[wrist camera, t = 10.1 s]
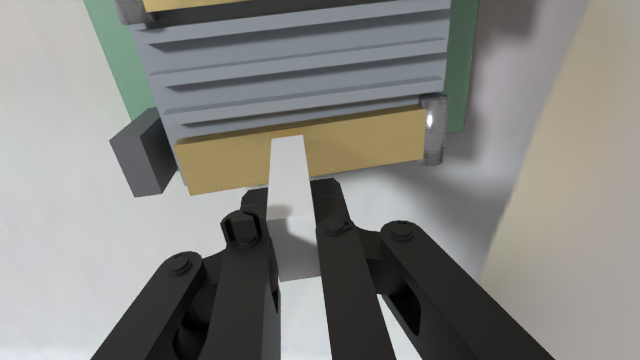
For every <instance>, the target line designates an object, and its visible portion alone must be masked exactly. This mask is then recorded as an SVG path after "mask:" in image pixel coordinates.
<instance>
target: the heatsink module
mask: <svg viewBox="0 0 640 360" xmlns="http://www.w3.org/2000/svg"><path fill="white" fill-rule="evenodd" d="M83 1H84V4H85V6H86V9H87V11H88V14H89V16H90V19H91V21H92V24H93V26H94V29H95V31H96V34H97V36H98V39H99V41H100V44H101V46H102V49H103V51H104V54H105V56H106V59H107V61H108V64H109V66H110V69H111V71H112V74H113V76H114V79H115V81H116V84H117V86H118V89H119V91H120V94H121V96H122V99H123V101H124V104H125V106H126V109H127V111H128V114H129V116H130V119H131V121H132V122H131V123H130V124H129V125H127V126H126V127H125V128H124V129H122V130H121V131H120V132H119V133H118V134H116V135H115V136H114V137H113V138H112V139H110V140H109V142H110V144H111V146H112V148H113V151H114V153H115V155H116V157H117V160H118V162H119V164H120V166H121V168H122V171H123V173H124V175H125V177H126V180H127V182H128V184H129V186H130V189H131V191H132V193H133V195H134V197H142V196H150V195H157V194H162V193H163V192H164V190H165V188H166V187H167V185H168V183H169V182H170V180H171V179H172V177H173V175H174V174H175V172H176V170H177V169H179V171H180V174H181V177H182V180H183V183H184V185H185V186H187V184H186V181H185V179H184V176H183V173H182V170H181V167H180V164H179V161H178V158H177V156H176V153H175V150H174V147H173V145H174V144H175V142H176V141H177V139H179V138H186V137H193V136H200V135H206V134H213V133H220V132H227V131H234V130H241V129H248V128H254V127H261V126H268V125H275V124H282V123H289V122H296V121H302V120H309V119H316V118H323V117H330V116H337V115H344V114H351V113H357V112H364V111H371V110H378V109H385V108H392V107H399V106H405V105H412V104H418V98H419V96H421V95H423V94H429V93H441V94H446V95H448V96H449V107H448V117H447V128H446V134H448V133H456V132H463V127H464V119H465V111H466V102H467V94H468V86H469V77H470V69H471V61H472V53H473V44H474V36H475V28H476V20H477V11H478V3H479V0H248V1H240V2H231V3H222V4H214V5H205V6H196V7H188V8H179V9H170V10H162V11H157V15H158V18H159V21H156V22H149V23H141V24H133V25H123V26H122V25H121V23H120V20H119V17H118V14H117V11H116V9H115V6H114V3H113V0H83Z"/></svg>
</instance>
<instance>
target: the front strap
mask: <svg viewBox="0 0 640 360" xmlns="http://www.w3.org/2000/svg"><path fill="white" fill-rule="evenodd" d="M240 1H248V0H113V3H114V6H115V9H116V11H117V14H118V17H119V20H120V23H121V25H122V26H123V25H133V24H141V23H149V22H156V21H159V18H158V15H157V11H162V10H170V9H179V8H188V7H196V6H205V5H214V4H222V3H231V2H240Z"/></svg>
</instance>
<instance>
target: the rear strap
mask: <svg viewBox="0 0 640 360" xmlns="http://www.w3.org/2000/svg"><path fill="white" fill-rule="evenodd" d="M448 107H449V96H448V95H446V94H441V93H429V94H423V95H421V96H419V98H418V104H412V105H405V106H399V107H392V108H385V109H378V110H371V111H364V112H357V113H351V114H344V115H337V116H330V117H323V118H316V119H309V120H302V121H296V122H289V123H282V124H275V125H268V126H261V127H254V128H248V129H241V130H234V131H227V132H220V133H213V134H206V135H200V136H193V137H186V138H179V139H177V141H176V142H175V144H174V145H173V147H174V150H175V153H176V156H177V158H178V161H179V164H180V167H181V170H182V173H183V176H184V179H185V181H186V184H187V187H188V190H189V193H190V196H192V195H198V194H205V193H211V192H217V191H223V190H230V189H236V188H242V187H248V186H255V185H261V184H267V183H269V171H270V156H271V142H272V139H274V138H282V137H289V136H297V135H303V140H304V147H305V153H306V160H307V167H308V174H309V177H311V176H317V175H324V174H330V173H336V172H343V171H349V170H355V169H361V168H368V167H374V166H380V165H386V164H393V163H399V162H405V161H412V160H416V161H417V162H418V163H419V164H422V165H427V166H434V165H439V164H441V163H442V162H443V160H444V149H445V139H446V128H447V117H448Z"/></svg>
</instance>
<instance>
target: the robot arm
mask: <svg viewBox="0 0 640 360" xmlns="http://www.w3.org/2000/svg"><path fill="white" fill-rule="evenodd" d="M220 225H221V228H222V231H223V234H224V237H225V241H226V244H227V245H226V249H224V250H222V251H221V252H219V253H217V254H214V255H212V256H209V257H206V258H204V259H202V257H201V255H199V254H198V253H197V252H192V251H188V252H181V253H178V254H176V255H173V256H172V257H170V258H168V259H167V260H165V261H164V262H163V263H162V264H161V265H160V267H159V268H158V269H157V271H156V272H155V273H154V275H153V276H152V277H151V279H150V280H149V281H148V283H147V284H146V285H145V287H144V288H143V289H142V291H141V292H140V294H139V295H138V296H137V298H136V299H135V300H134V302H133V303H132V304H131V306H130V307H129V308H128V310H127V311H126V312H125V314H124V315H123V316H122V318H121V319H120V320H119V322H118V323H117V324H116V326H115V327H114V328H113V330H112V331H111V333H110V334H109V335H108V337H107V338H106V339H105V341H104V342H103V343H102V345H101V346H100V347H99V349H98V350H97V351H96V353H95V354H94V355H93V357H92V358H91V359H90V360H281V294H280V290H279V285H278V275H279V280H280V282H284V281H290V280H297V279H304V278H311V277H318V276H321V278H322V286H323V293H324V301H325V308H326V316H327V324H328V331H329V339H330V346H331V354H332V360H396V356H395V353H394V350H393V347H392V343H391V340H390V337H389V334H388V330H387V327H386V324H385V321H384V317H383V314H382V311H381V307H380V304H379V301H378V298H377V294H381V295H382V298H383V300H384V301H385V303H386V304H387V306H388V307H389V309H390V310H391V312H392V314H393V315H394V317H395V318H396V320H397V321H398V323H399V324H400V326H401V327H402V329H403V330H404V332H405V334H406V335H407V337H408V338H409V340H410V341H411V343H412V344H413V346H414V347H415V349H416V350H417V352H418V354H419V355H420V357H421V358H422V360H555V359H554V358H553V357H552V356H551V355H550V354H549V353H548V352H547V351H546V350H545V349H544V348H543V347H542V346H541V345H540V344H539V343H538V342H537V341H536V340H535V339H534V338H533V337H532V336H531V335H530V334H528V333H527V332H526V331H525V330H524V329H523V328H522V327H521V326H520V325H519V324H518V323H517V322H516V321H515V320H514V319H513V318H512V317H511V316H510V315H509V314H508V313H507V312H506V311H505V310H504V309H503V308H502V307H501V306H500V305H499V304H498V303H497V302H496V301H495V300H494V299H493V298H492V297H491V296H490V295H488V293H487V292H486V291H485V290H484V289H483V288H482V287H481V286H480V285H478V284H477V283H476V282H475V281H474V280H473V279H472V278H471V277H470V276H469V275H468V274H467V273H466V272H465V271H464V270H463V269H462V268H461V267H460V266H459V265H458V264H457V263H456V262H455V261H454V260H453V259H452V258H451V257H450V256H449V255H448V254H447V253H446V252H445V251H444V250H443V249H442V248H441V247H440V246H439V245H438V244H437V243H436V242H435V241H434V240H433V239H432V238H431V237H430V236H429V235H427V234H426V233H425V232H424V231H423V230H422V229H421V228H420V227H419V226H417V225H416V224H414V223H412V222H408V221H401V220H398V221H392V222H389V223H387V224H385V225H384V226H383V227H382V228H381V232H377V231H368V230H364V229H361V228H359V227H357V226H355V224H354V223H353V221H351V219H350V216H349V213H348V209H347V206H346V203H345V199H344V196H343V193H342V189H341V186H340V183H339V182H337V181H336V180H335V179H334V178H328V179H320V180H313V181H309V174H308V167H307V160H306V153H305V147H304V140H303V135H297V136H289V137H282V138H274V139H272V142H271V156H270V171H269V186H268V188H261V189H253V190H248V191H247V193H246V194H245V195H244V196H243V197H242V201H241V207H240V210H236V211H234V212H232V213H230V214H228V215H227V216H226V217H225V218H223V220H222V222H221V223H220Z"/></svg>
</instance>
